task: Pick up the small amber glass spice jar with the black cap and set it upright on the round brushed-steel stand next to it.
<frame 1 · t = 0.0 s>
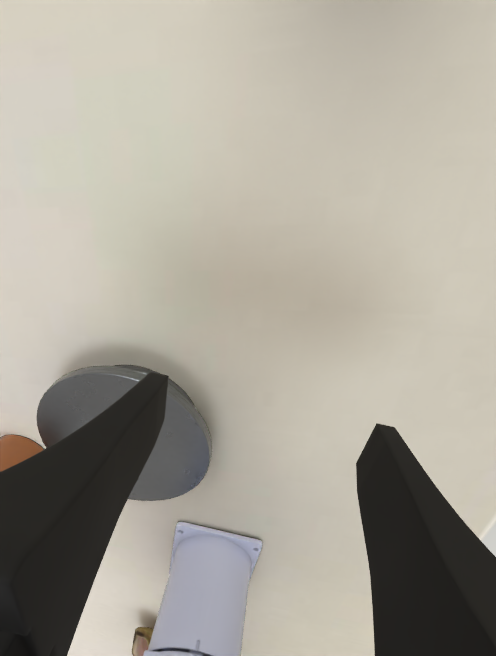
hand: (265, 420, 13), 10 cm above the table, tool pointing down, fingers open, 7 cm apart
steel stand: (139, 413, 28), on the table
ceramic sculpture: (184, 638, 47), on the table
spice jar: (23, 454, 32), on the table
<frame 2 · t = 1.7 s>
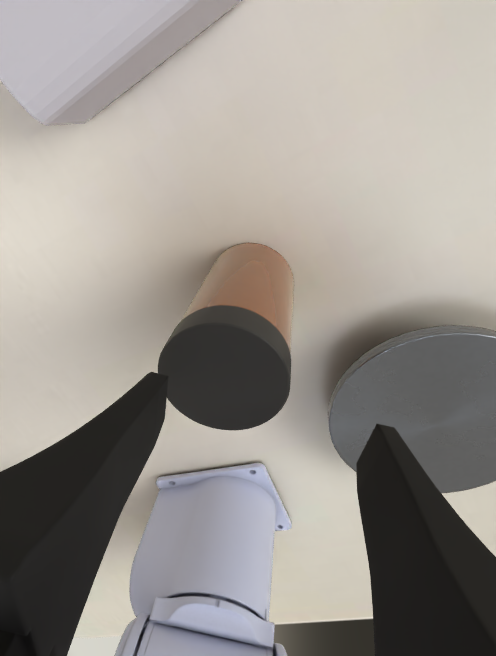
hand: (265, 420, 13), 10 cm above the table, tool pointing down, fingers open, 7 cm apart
steel stand: (423, 390, 23), on the table
spice jar: (251, 283, 21), on the table
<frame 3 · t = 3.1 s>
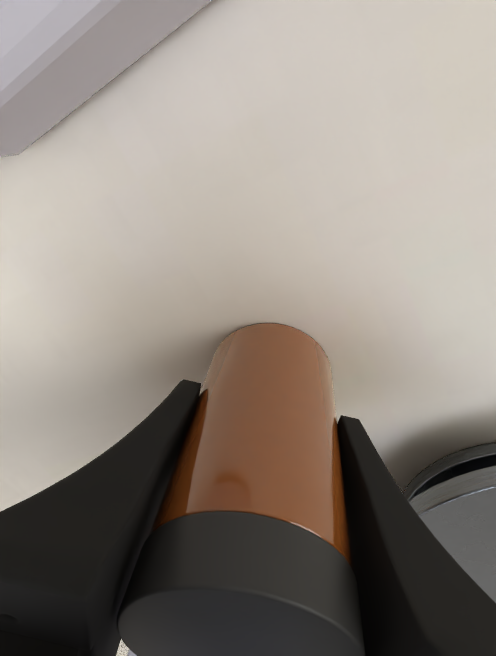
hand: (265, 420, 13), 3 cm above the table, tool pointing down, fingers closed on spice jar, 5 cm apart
spice jar: (270, 374, 15), on the table, touching gripper
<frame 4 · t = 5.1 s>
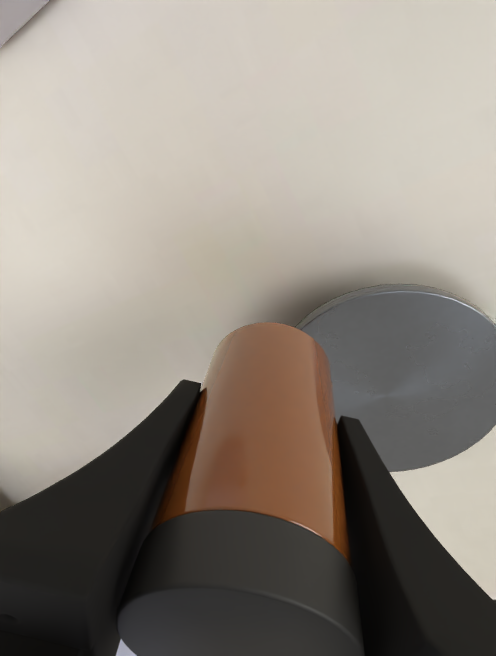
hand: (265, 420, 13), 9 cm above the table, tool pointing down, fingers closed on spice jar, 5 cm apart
steel stand: (376, 362, 22), on the table
spice jar: (270, 373, 15), point 7 cm above the table, touching gripper
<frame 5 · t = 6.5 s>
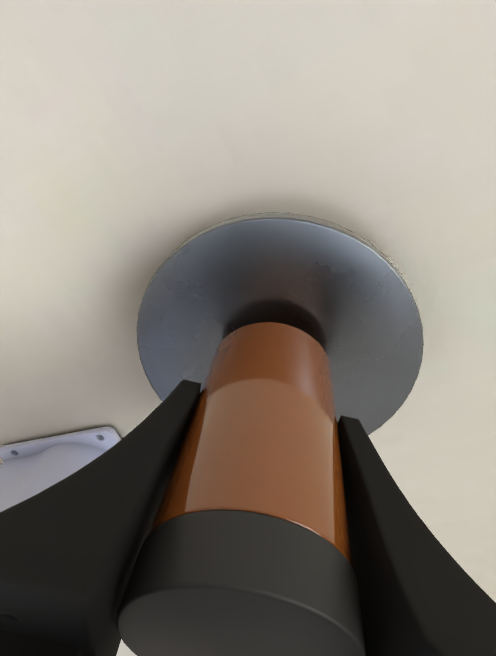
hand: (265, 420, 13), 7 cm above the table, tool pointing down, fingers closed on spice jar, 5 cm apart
steel stand: (277, 325, 18), on the table
spice jar: (270, 373, 15), point 4 cm above the table, touching gripper
when the fingers open (6 cm above the table, at t = 7.3 s): spice jar stays where it is, resting on steel stand.
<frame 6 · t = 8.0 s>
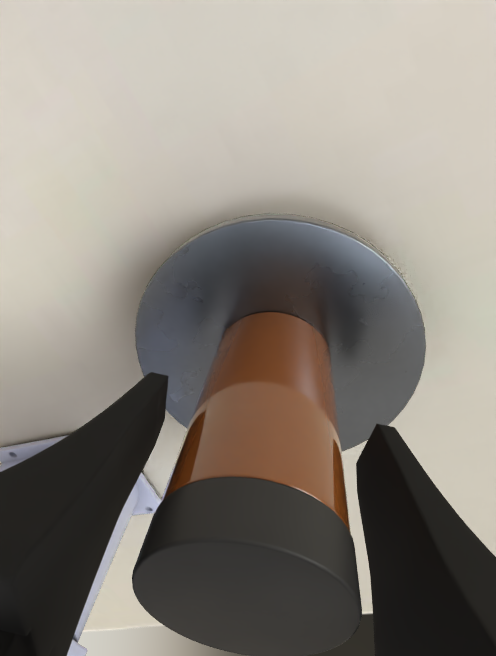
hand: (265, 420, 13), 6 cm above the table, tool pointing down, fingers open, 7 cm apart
steel stand: (277, 327, 18), on the table
spice jar: (272, 361, 16), point 3 cm above the table, touching steel stand
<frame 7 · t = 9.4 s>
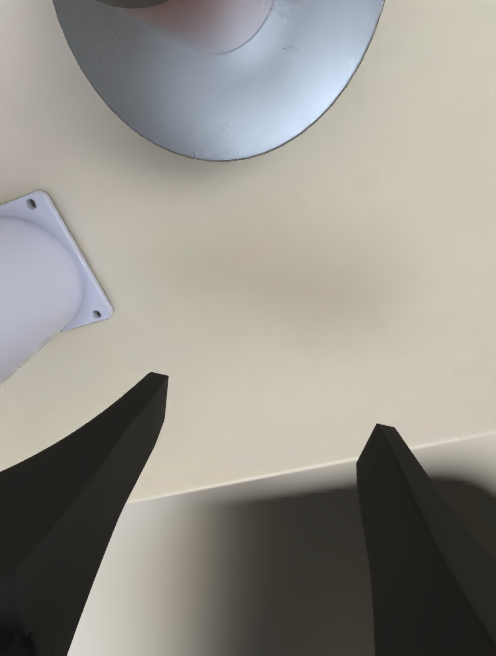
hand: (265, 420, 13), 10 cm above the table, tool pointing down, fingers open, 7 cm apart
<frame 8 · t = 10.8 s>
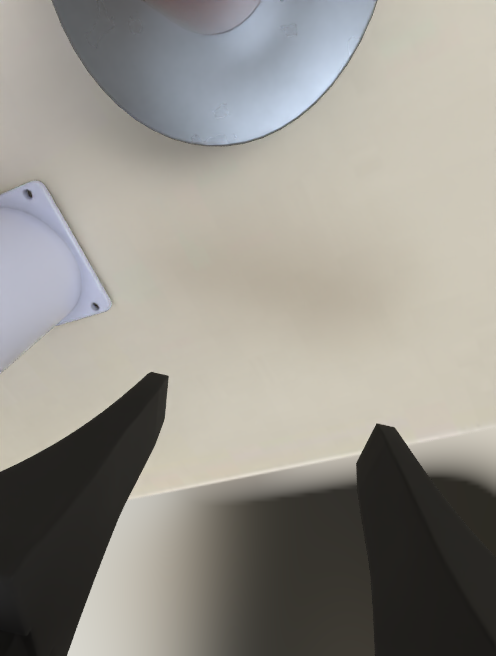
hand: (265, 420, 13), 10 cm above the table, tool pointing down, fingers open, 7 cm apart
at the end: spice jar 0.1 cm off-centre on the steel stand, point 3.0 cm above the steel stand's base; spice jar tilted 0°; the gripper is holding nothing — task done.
